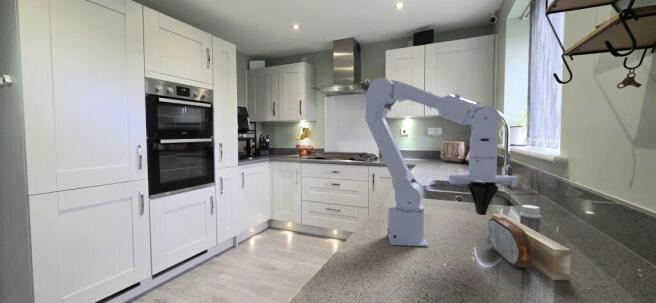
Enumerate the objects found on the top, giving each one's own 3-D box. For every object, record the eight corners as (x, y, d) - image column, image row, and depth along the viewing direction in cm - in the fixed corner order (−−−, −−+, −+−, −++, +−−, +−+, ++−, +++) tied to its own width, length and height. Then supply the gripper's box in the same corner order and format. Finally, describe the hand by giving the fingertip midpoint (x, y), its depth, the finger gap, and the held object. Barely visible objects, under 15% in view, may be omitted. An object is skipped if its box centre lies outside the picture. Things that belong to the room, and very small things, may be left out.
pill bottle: (544, 239, 71) (545, 209, 71) (524, 238, 72) (525, 208, 72) (534, 233, 76) (535, 204, 75) (515, 232, 77) (516, 203, 76)
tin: (534, 275, 53) (535, 234, 53) (516, 274, 54) (518, 233, 53) (498, 245, 68) (499, 213, 67) (485, 244, 68) (486, 212, 68)
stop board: (552, 279, 51) (553, 249, 51) (491, 234, 75) (492, 213, 75) (569, 280, 51) (570, 250, 51) (502, 234, 75) (503, 214, 74)
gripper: (456, 158, 60) (454, 217, 60) (526, 159, 58) (523, 220, 58) (446, 156, 67) (445, 209, 67) (508, 156, 65) (506, 211, 65)
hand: (481, 213), depth 63 cm, fingers closed
